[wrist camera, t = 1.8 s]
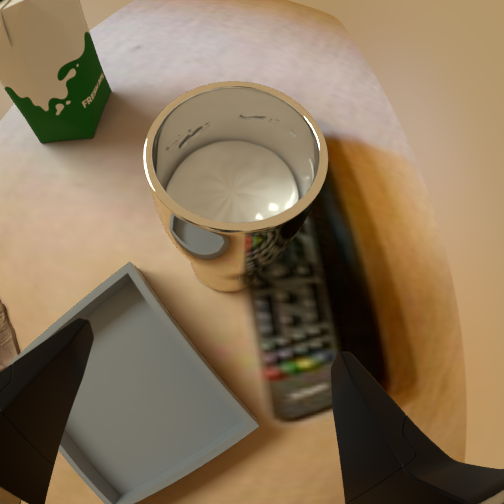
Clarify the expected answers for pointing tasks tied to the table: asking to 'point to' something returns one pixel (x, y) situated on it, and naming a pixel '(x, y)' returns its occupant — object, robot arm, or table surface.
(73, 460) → the tray
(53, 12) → the milk carton
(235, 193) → the metal tumbler
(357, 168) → the table surface
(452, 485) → the robot arm
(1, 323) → the wooden fragment
